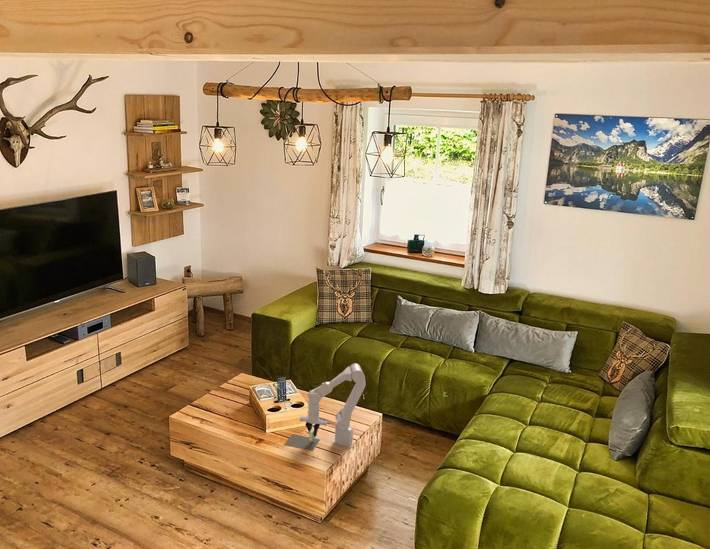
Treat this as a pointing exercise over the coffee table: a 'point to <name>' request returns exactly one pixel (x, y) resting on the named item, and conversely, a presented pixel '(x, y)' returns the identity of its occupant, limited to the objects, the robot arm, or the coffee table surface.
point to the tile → (311, 435)
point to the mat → (301, 442)
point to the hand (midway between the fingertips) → (312, 435)
